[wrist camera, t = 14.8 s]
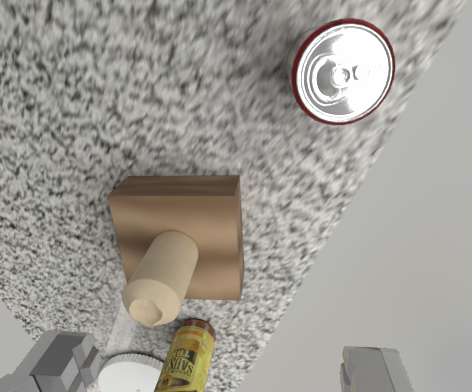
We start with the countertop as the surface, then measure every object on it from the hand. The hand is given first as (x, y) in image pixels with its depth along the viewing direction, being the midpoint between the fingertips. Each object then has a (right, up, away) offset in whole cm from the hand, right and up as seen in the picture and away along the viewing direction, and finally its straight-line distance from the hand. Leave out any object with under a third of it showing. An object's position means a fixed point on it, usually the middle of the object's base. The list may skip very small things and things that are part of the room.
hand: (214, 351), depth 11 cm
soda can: (+10, +19, +24) cm, 32 cm away
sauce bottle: (-5, -16, +41) cm, 45 cm away
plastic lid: (-15, -27, +48) cm, 57 cm away
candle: (-6, -1, +28) cm, 29 cm away
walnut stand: (-5, +1, +33) cm, 34 cm away
